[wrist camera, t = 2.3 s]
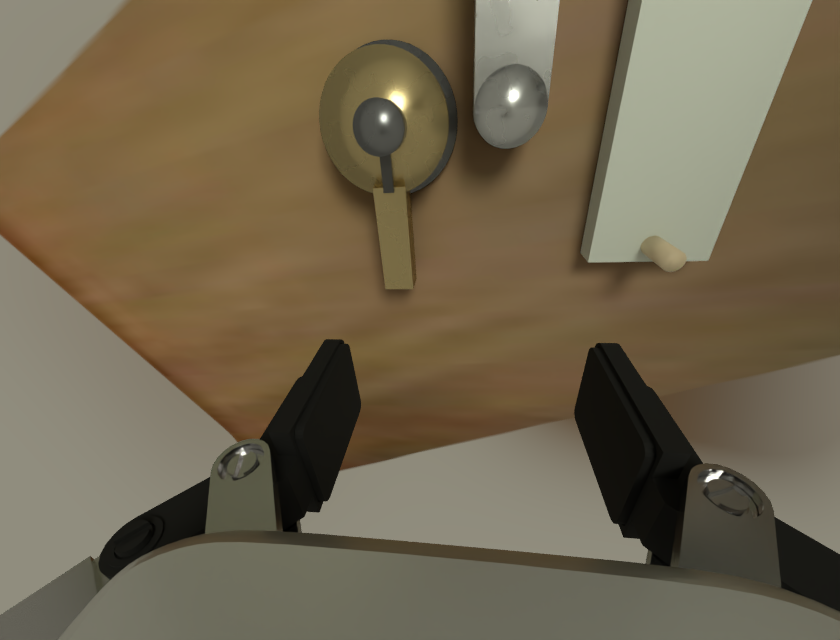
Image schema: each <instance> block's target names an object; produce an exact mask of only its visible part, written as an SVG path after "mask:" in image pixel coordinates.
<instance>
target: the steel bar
mask: <svg viewBox="0 0 840 640" xmlns="http://www.w3.org/2000/svg"><path fill="white" fill-rule="evenodd" d="M559 1H560V0H475V4H474V66H473V119H474V123H475V126H476V128H477V130H478V131H479V133H480V135H481V136H482V137H483V139H484V140H485V141H486V142H488V143H489V144H491V145H493V146H495V147H498V148H503V149H509V148H514V147H518V146H520V145H522V144H524V143H526V142H527V141H528V140H530V139H531V138H532V137H533V136H534V135H535V134H536V133H537V131H538V130H539V128H540V127H541V125H542V123H543V121H544V119H545V116H546V112H547V107H548V98H549V89H550V81H551V72H552V63H553V54H554V45H555V36H556V27H557V18H558V10H559Z"/></svg>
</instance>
